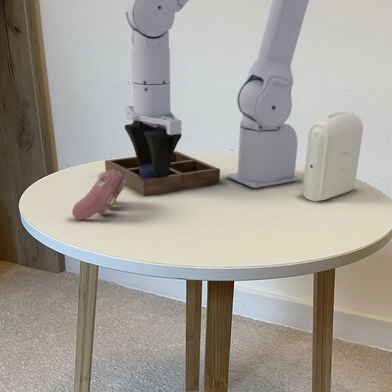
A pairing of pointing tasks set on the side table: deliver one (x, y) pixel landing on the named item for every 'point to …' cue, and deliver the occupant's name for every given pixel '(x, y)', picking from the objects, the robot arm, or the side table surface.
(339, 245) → the side table surface
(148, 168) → the round container
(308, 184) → the photo printer
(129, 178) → the grid
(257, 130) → the robot arm
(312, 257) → the side table surface
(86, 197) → the pink rounded lump
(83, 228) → the side table surface
